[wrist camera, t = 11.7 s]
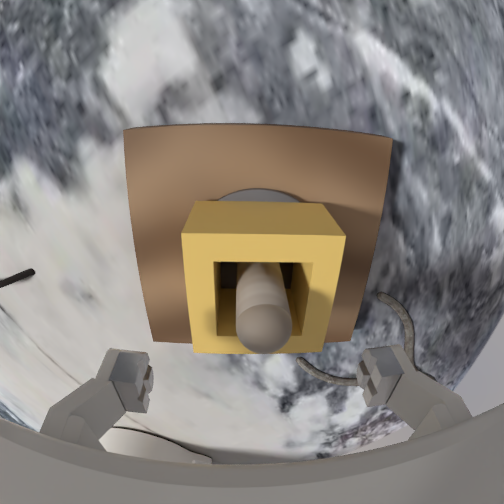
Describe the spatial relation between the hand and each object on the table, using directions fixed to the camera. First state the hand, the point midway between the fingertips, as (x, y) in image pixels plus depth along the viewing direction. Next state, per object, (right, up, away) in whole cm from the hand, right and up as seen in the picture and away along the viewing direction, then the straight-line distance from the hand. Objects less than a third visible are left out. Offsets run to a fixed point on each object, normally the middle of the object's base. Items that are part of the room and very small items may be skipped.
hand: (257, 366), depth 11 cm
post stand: (0, +5, +8) cm, 9 cm away
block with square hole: (0, +4, +6) cm, 7 cm away
